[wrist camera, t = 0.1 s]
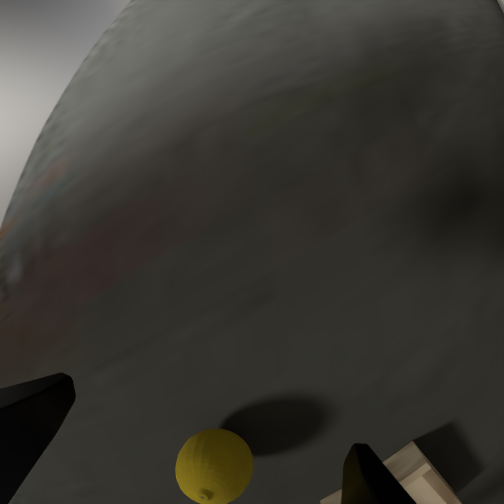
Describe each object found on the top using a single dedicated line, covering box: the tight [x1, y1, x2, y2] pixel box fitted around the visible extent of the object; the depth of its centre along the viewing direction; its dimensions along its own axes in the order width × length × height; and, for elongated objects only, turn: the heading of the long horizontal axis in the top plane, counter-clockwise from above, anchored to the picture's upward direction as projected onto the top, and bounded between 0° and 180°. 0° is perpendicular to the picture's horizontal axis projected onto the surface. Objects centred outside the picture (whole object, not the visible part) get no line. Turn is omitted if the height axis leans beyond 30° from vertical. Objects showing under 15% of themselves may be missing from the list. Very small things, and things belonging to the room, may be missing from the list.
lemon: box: [176, 428, 253, 504], centre depth 20 cm, size 6×6×8 cm
